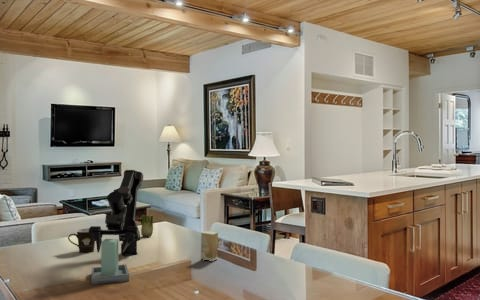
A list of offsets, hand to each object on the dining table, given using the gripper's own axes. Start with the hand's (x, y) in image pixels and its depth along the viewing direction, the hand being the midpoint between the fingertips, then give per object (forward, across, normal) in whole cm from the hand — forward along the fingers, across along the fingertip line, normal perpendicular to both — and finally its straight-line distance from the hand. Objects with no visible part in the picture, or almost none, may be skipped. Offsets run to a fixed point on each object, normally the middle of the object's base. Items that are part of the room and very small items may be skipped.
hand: (110, 251), depth 153 cm
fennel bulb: (-40, +2, +55) cm, 68 cm away
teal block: (+6, 0, +6) cm, 9 cm away
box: (+7, 0, +6) cm, 10 cm away
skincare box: (-8, +37, +22) cm, 44 cm away
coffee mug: (-19, -22, +34) cm, 45 cm away
